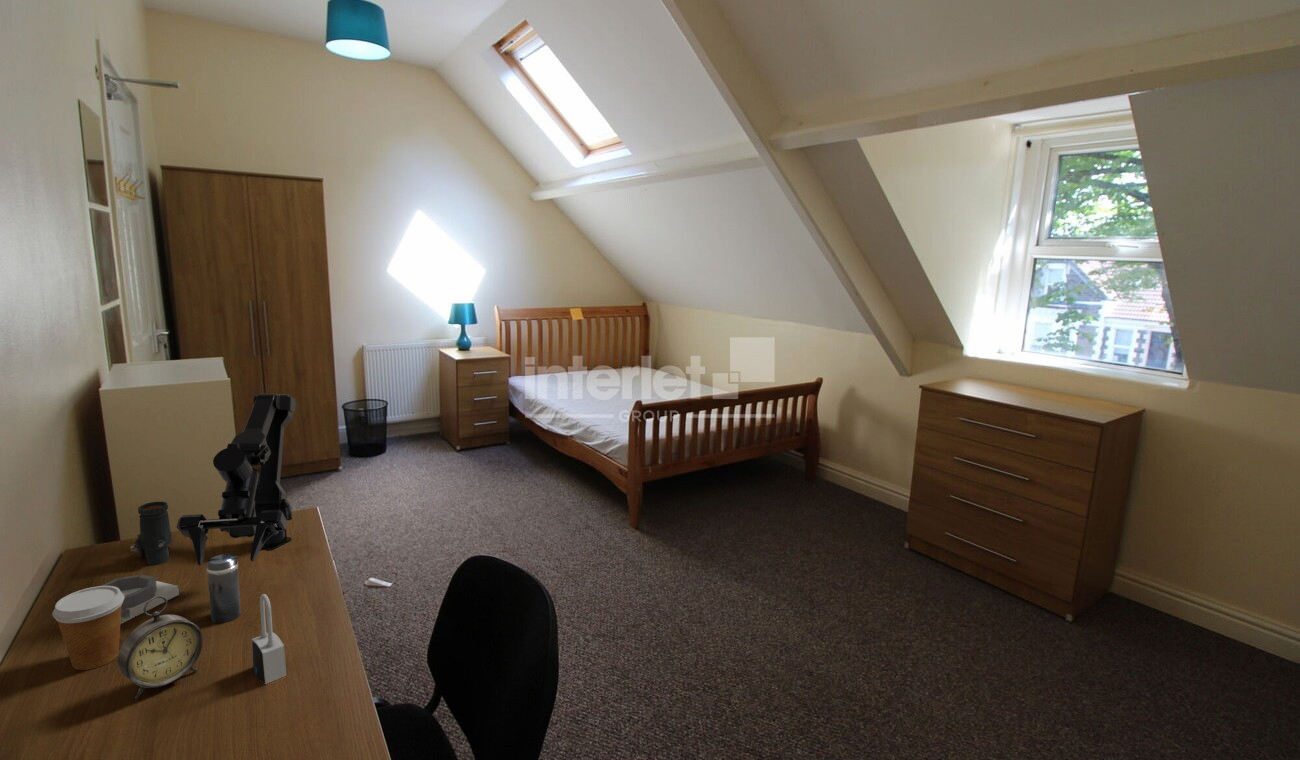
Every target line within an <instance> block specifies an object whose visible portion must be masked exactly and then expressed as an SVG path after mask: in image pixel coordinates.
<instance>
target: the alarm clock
mask: <svg viewBox="0 0 1300 760" xmlns="http://www.w3.org/2000/svg"><path fill="white" fill-rule="evenodd" d="M156 598H162V599H164V600H165V602H164V606H163V608H162V609H161V610H160V611H157V610H155V612H153V613H148V612H147V611H146V607H147V605H148V603H149V602H150V601H152V600H154V599H156ZM167 606H168V600H167V599H166V598H165V597H163V596H156V597H153V598H152V599H150V600H149V601H148V602H147V603H146V604H145V606H144V614H145V615H146V616H149V617H151V618H150V619H148V620H145V621H144V622H143V623H141V624H139V625H138V626H136V627H135V628H134V629H133V630H132V631H131V632H130V633H129V634H128V635H127V636H126V638H125V639H124V640H123V642H122V644H121V647H119V654H118V656H117V664H118V665H117V666H118V669H119V671H120V672H121V673H122V675H123V676H124V677H125V678H127V679H128V680H129V681H130V682H132V683H133V685H136V686H138V687H139V688H138V691H137V693H136V695H135V696H134V700H139V699H140V696H141V694H142V693H143V692H144V691H145V689H154V688H159V687H164V686H166V685H169V684H170V683H173V682H175V681H177V680H179V679H180V678H181V677H182V676H184V675H185V674H187V673H188V671H193V672H194V673H197V672H198V668H197V667H194V665H195V664H196V662H197V660H198V659H199V657H200V655H201V653H202V652H203V651H202V650H203V646H204V636H203V632H202V630H201V628H200V627H199V626H198V625H197V624H195V623H194V622H192V621H190V620H189V619H188V618H185V617H183V616H181V615H177V614H162V615H161V613H162V612H164V610H166V607H167Z"/></svg>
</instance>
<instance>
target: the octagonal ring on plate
mask: <svg viewBox="0 0 1300 760" xmlns="http://www.w3.org/2000/svg"><path fill="white" fill-rule="evenodd" d="M100 586H114V587H117V588H119V589H120V591H121V593H123V594H124V600H123V603H122V605H121V624H120V625H122V624H124V623H126V622H127V621H129V620H132V619H133V618H136V617H137V616H140V615H141V614H143V613H144V606H145V604H146V603H147V602H148V601H149V600H150V599H152V598H153V597H156V596H163V597H165V598H166V599H167V601H169V600H171V599H173V598H175V597H178V596H179V595H180V590H179V587H180V586H179V585H176V584H175V585H174V584H170V583H166V582H162V581H158V580H157V579H156V577H155V576H151V575H145V574H136V575H130V576H123V577H118V578H115V579H112V580H110V581H108V582H106V583H104V584H101V585H100ZM163 603H164V604H165V600H164V599H162V598H156V599H154V600H152V601H150V602H149V603H148V605H147V607H146V612H147V611H149V610H152V609H153V608H155V607H157V606H159V605H161V604H163ZM144 614H145V613H144ZM135 616H136V617H135Z"/></svg>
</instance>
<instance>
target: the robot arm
mask: <svg viewBox="0 0 1300 760" xmlns="http://www.w3.org/2000/svg"><path fill="white" fill-rule="evenodd" d="M296 406H297V402H296V398H295V397H292V396H291V394H289V393H286V394H285V393H281V394H280V393H278V394H277V393H258V394H255V395H254V398H253V406H252V409H251V412H250V414H249V416H248V419H247V421H246V424H245V426H244V429H243V431H241V432H240V433H238V434H237V435H235V436H234V437H233V438H232V441H231V442H230V443H227V447H226V448H224V449H221V450H220V451H218V452H217V453H216V454H215V456H214V457H213V460H212V464H213V467H214V468H215V470H216V471H217V472H218V474H219V476H220V477H221V479H222V480H223V481H224V482H225V488H224V491H222V493H221V497H222V502H221V506H220V509H218V511H217V515H218V518H216V519H215V518H213V519H207V518H206V517H205V516H204V514H202V513H200V514H198V513H197V514H196V513H195V514H183V515H182V516H180V518H179V519H178V520H177V524H176V526H175V527H176V529H177V530H178V531H179V532H180V533H181V535H182V536H183V537H185V538H189V539H190V540H191V541H192V544H193V549H194V553H195V556H196V561H197V564H198V566H203V562H204V557H205V551H206V544H207V541H208V540H209V537H208V535H207V534H208V533H209V530H215V529H216V530H217V529H218V530H220V531H221V532H225V533H228V534H229V537H230V538H233V539H238V538H245V537H248V538H252V537H253V541H252V543H251V551H250V561H251V562H254V561H255V560H256V558H257V556H258V555H259V554H260V551H261V550H262V549H267V550H274V549H276V548H278V547H280V546H282V545H284V544H285V543H288V542H290V541H292V540H293V537H291V536H290V537H289V536H288V535H287V534H288V533H287V523H288V522H289V521H291V520H293V510H292V508H293V507H292V505H291V504H290V502H289V500H288V498H287V493H286V491H285V490H284V489H283V487H282V485H281V475H282V474H281V473H282V465H283V464H282V460H283V451H284V450H283V448H284V436H285V429H286V428H287V426H288V424H289V423H290V422H291V421H292V420H293V416H294V412H295V411H296ZM255 466H259V467H260V469H259V471H258V470H257V469H256V468H255ZM291 539H292V540H291ZM289 540H290V541H289ZM287 541H288V542H287Z"/></svg>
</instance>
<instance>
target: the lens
mask: <svg viewBox="0 0 1300 760" xmlns="http://www.w3.org/2000/svg"><path fill="white" fill-rule="evenodd" d="M206 574H207V583H208V595H209V609H210V620H211V622H213V623H215V624H224V623H229V622H231V621H235V620H236V619H237V618H238V619H239V617H240V616H241V614H242V611H241V610H242V609H241V595H240V582H239V562H238V556H237V555H236V554H234V553H221V554H217V555H214V556H211V557H210V558H208V559H207V561H206Z"/></svg>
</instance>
